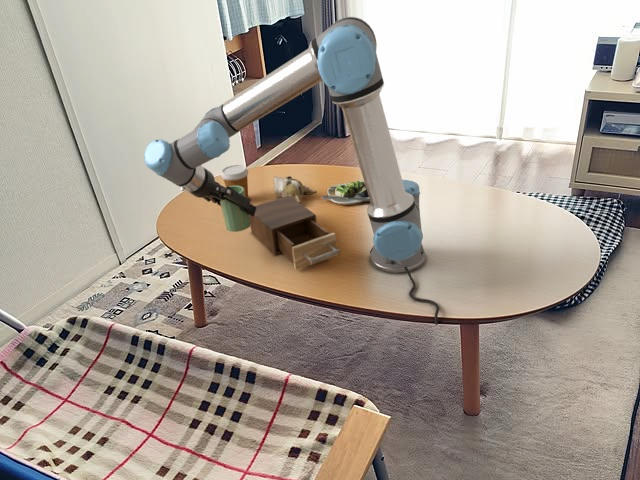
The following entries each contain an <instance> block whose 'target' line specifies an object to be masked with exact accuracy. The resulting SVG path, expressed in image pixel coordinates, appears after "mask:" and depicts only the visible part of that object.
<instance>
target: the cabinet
mask: <svg viewBox="0 0 640 480" xmlns="http://www.w3.org/2000/svg"><path fill="white" fill-rule="evenodd" d="M254 206H255V207H256V211H255V215H254V216H251V215H249V219H250V226H249V227H250V231H251V234H252V235H253V236H254V237H255V238H256V239H257V240H258V241H259V242H261V244H262V245H264V246H265V247H266V248H267V249H268V250H269V251H270V252H271V253H272V254H273V255H274V256H278V255H281V254H283V253H282V252H281V251H279V250H278V249H277V244H276V237H275V231H276V230H279V229H282V228H285V227H288V226H291V225H294V224H297V223H300V222H303V221H306V220H309V219H312V220H313V221H314V222H316V223H317V215H316V213H314V212H313V211H311V210H310V209H309V208H307V207H306V206H304V205H303V204H302V203H299V202H298V201H296V200H295V199H293V198H292V197H291V196H289V195H288V196H285V197H281V198H276V199H272V200H270V201H267V202H263V203H260V204H256V205H254Z"/></svg>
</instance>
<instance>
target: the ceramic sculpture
mask: <svg viewBox="0 0 640 480" xmlns="http://www.w3.org/2000/svg"><path fill="white" fill-rule="evenodd" d="M273 185H274V194H275V196H276V197H277V199H279V198H282V197H285V196H288V195H289V196H291V197H292V198H293V199H295V200H296V201H298V202H299V203H300V204H302V202H301V198H302V197H303V196H307V197H309V196H312V195H315V194H317V192H318V191H316V190H312V189H311V188H310V187H308V186H306V185H304V184H303V183H302V181H300V180H298V179H296V178H293V177H292V176H291V175H290V176H289V175H288V176H287V177H286V176H285V177H279V176H276V175H275V176H274V177H273Z"/></svg>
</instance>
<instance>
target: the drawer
mask: <svg viewBox="0 0 640 480" xmlns="http://www.w3.org/2000/svg"><path fill="white" fill-rule="evenodd" d="M275 237H276V244H277V249H278V250H279V251H281V252H282V253H281V254H283V255H284V256H285V258H287V259H288V260H289V261H291V263H292V264H293V267H294V269H295V271H296V270H300V269H302V268H305V267H308V266H311V265H314V264H317V263H320V262H322V261H325V260H327V259H331V258H334V257H336V256H339V255H341V250H340V249H339V248H338V247H337V246H338V245H337V236H336V233H335V232H331V233H329V231H328V230H326V229H325V228H324V227H323V226H321V225H319V224H318V223H317V221H316V222H314V221H313V220H312V219H309V220H306V221H303V222H300V223H297V224H294V225H291V226H288V227H285V228H282V229H279V230H276V231H275Z"/></svg>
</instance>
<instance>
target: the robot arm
mask: <svg viewBox="0 0 640 480" xmlns="http://www.w3.org/2000/svg"><path fill="white" fill-rule="evenodd" d="M377 45H378V44H377V38H376V34H375V32H374V30H373V28H372V27H371V25H370V24H368V23H367V22H366V20H363V19H362V18H359V17H356V16H345V17H342V18H340V19H337V20H336V21H335V22H334V23H333V24H331V25H330V26H329V27H328V28H327V29H326V30H324V31H323V32H322V33H320V34H319V35H318V36H316V37H315V38H313V39H311V41H310V42H309V46H308V48H307V49H305V50H304V51H302V52H301V53H299V54H298V55H296V56H294V57H292V59H290V60H288V61H287V62H285V63H284V64H282V65H281V66H279V67H278V68H276V69H274V70H273V71H271V72H270V73H269V74H267V75H264V76H263V77H262V78H261V79H259V80H257V81H256V82H254V83H253V84H251V85H250V86H248V87H247V88H245V89H243V90H242V91H240V92H239V93H237V94H236V95H234V96H233V97H231V98H229V99H228V100H226V101H225V102H223V104H220V105H219V106H215V107H212V108H211V109H209V110H208V111H207V112H206V113H205V114H204V116H203V118H202V119H201V120H200V121H199V122H198V124H196V126H195V127H194V128H193V130H192V131H190V132H188V133H187V134H185V135H184V136H181V137H180V138H178V139H176V140H173V141H172V142H170V143H169V141H166V140H164V139H154V140H152V141H151V142H149V144H148V145H147V146H146V148H145V151H144V153H143V159H144V163H145V166H146V167H147V168H148V169H150V170H151V171H153V173H155V175H157V176H160V177H161V178H163V179H165V180H167V181H169V182H171V183H172V184H174V185H176V186H177V187H179V188H180V191H181V192H184V191H186V192H187V193H188V194H190V195H192V196H194V197H196V198H199V199H200V198H202V199H203V200H204V201H207V202H208V203H209V202H212V203H213V204H217V206H219V207H221V204H220V200H226V201H228V202H230V203H232V204H234V205H236V206H238V207H240V210H241V211H244V212H246V213H248V214H249V215H251V216H254V215H255V211H256V207H255V206H256V205H253V204H252V203H251V199H250V198H249V197H248V198H246V197H245V196H243V195H241V194H240V193H238V192H236V191H235V190H233V189H232V188H231V187H229V186H227V187H226V186H223V185H221V184H220V182H218V181H216V180H215V175H214V174H213V173H212V172H211V171H210V170H208V169H207V168H205V167H204V166H202V165H204V164H206V163H208V162H210V161H212V160H214V159H216V158H219V157H221V156H222V155H223V154H224V153H226V152H227V151H229V149H230V146H231V144H230V138H231V137H233V136H235V135H236V134H238V133H240V132H241V131H242V130H244V129H246V128H247V127H249V126H251V125H252V124H254V123H256V122H257V121H259V120H260V119H262V118H264V117H265V116H267V115H268V114H270V113H272V112H274V111H275V110H277V109H278V108H280V107H281V106H283V105H285V104H286V103H288V102H290V101H291V100H294V99H295V98H296V97H298V96H300V95H302V94H304V93H305V92H307V91H309V90H310V89H311V88H313V87H315V86H316V85H318V84H320V83H321V82H323V83H324V84H325V85H326V87H327V90H328V92H329V96H330V99H331V101H332V104H335V105H336V106H338V107H340V108H341V110H342V113H343V116H344V121H345V123H346V126H347V129H348V134H349V136H350V139H351V142H352V146H353V150H354V151H355V155H356V159H357V162H358V165H359V169H360V172H361V175H362V178H363V181H364V182H365V185H366V188H367V192H368V195H369V198H370V202H369V205H368V207H367V209H366V213H367V216H368V219H369V222H370V226H371V229H372V232H373V238H372V239H373V241H372V242H373V245H372V247H371V248H370V251H369V254H370V263H371V264H372V266H373V267H374V268H376V269H377V270H380V271H382V272H385V273H391V274H404V273H406V274H407V276H408V278H409V280H410V281H411V284H412V287H411V289H410V291H409V294H408V295H409V298H411V299H412V300H413V301H416V302H422V303H428V304H431V305H433V306H434V307H435V313H434V325H435V326H438V325H439V321H438V319H439V317H438V316H439V312H440V306H439V304H438V303H437V302H436V301H434V300H432V299H428V298H419V297H416V296H414V295H413V293H414V291H415V290H416V286H417V283H416V281H415V280H414V278H413V276H412V274H411V273H410V272H412V271H415V270H417V269H419V268H420V267H421V266H422V265H423V264H424V263H425V257H426V254H425V249H424V246H423V239H424V235H423V230H422V220H421V211H420V210H421V209H420V195H421V192H420V185H419V183H417V182H416V181H413V180H411V179H403V178H402V174H401V170H400V167H399V163H398V158H397V156H396V152H395V147H394V143H393V140H392V137H391V133H390V129H389V125H388V122H387V121H388V120H387V118H386V114H385V110H384V107H383V106H384V105H383V103H382V99H381V95H380V94H381V92H382V90H383V88H384V86H385V82H384V78H383V74H382V70H381V66H380V62H379V58H378V54H377V48H378V47H377ZM225 187H226V188H225ZM220 195H221V196H220Z"/></svg>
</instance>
